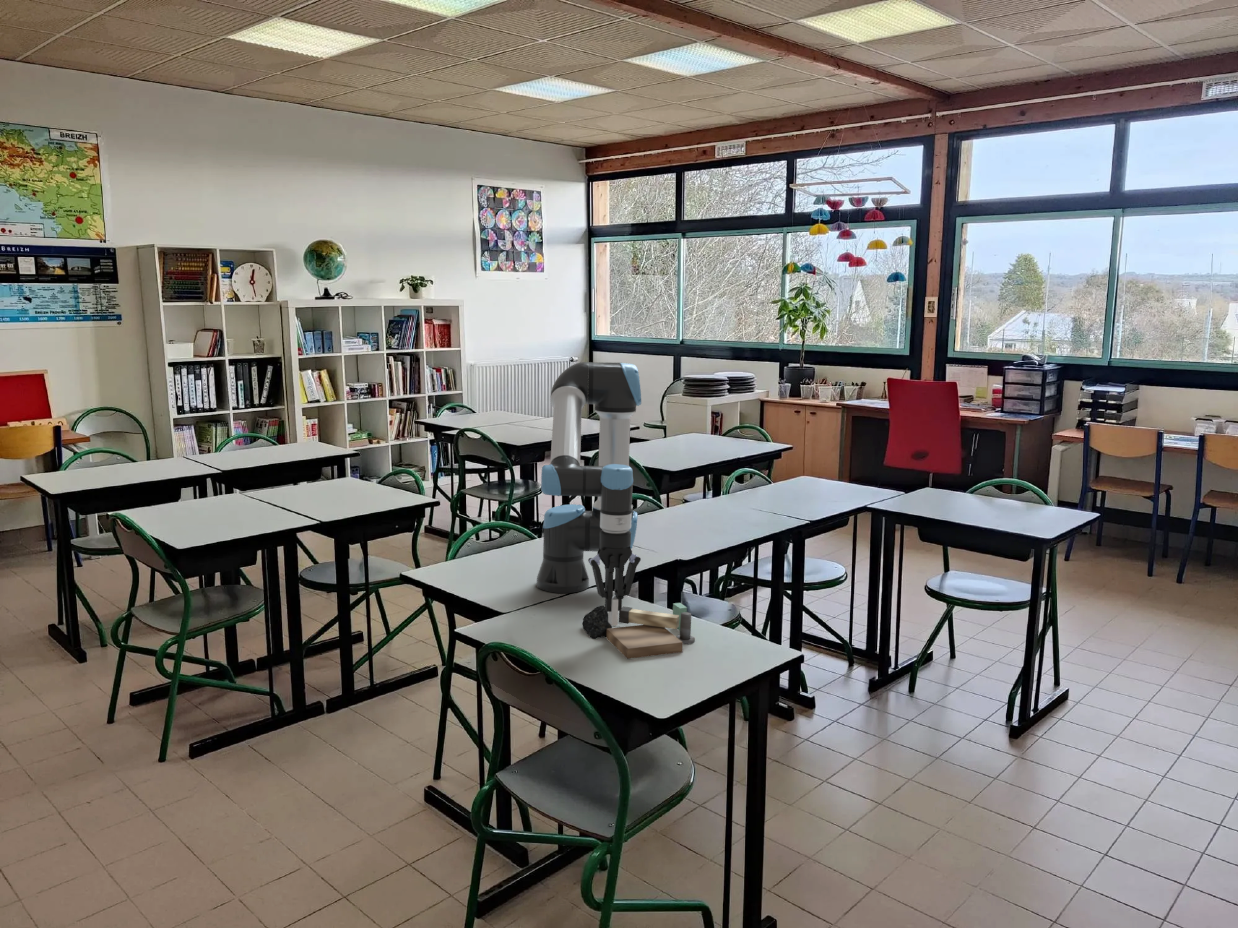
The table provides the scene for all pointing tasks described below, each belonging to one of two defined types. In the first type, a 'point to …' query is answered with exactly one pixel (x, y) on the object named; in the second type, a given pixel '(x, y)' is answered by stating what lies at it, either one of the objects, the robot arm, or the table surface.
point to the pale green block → (679, 611)
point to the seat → (650, 639)
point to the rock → (596, 622)
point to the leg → (648, 618)
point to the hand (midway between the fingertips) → (612, 623)
